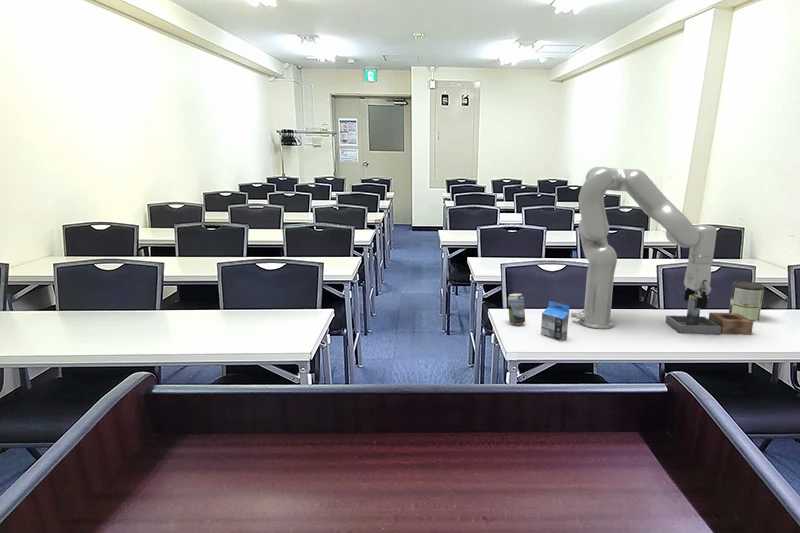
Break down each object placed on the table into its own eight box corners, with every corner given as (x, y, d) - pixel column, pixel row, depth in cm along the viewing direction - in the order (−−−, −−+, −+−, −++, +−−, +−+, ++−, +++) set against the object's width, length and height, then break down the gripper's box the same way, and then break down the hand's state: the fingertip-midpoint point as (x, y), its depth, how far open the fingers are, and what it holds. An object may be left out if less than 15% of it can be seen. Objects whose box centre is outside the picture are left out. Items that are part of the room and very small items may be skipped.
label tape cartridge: (540, 334, 174) (541, 302, 172) (546, 332, 177) (548, 300, 174) (561, 341, 167) (563, 307, 165) (567, 338, 170) (569, 305, 167)
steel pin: (688, 327, 177) (692, 297, 175) (683, 324, 181) (687, 294, 179) (699, 328, 177) (703, 297, 174) (694, 324, 181) (698, 294, 178)
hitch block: (721, 333, 173) (723, 320, 172) (707, 324, 183) (709, 312, 182) (751, 334, 172) (753, 321, 171) (735, 325, 181) (737, 313, 180)
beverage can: (519, 327, 181) (520, 297, 179) (503, 323, 187) (504, 293, 184) (528, 324, 185) (530, 294, 183) (512, 319, 191) (514, 290, 188)
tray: (678, 333, 174) (679, 325, 173) (665, 322, 186) (666, 315, 185) (720, 334, 172) (721, 326, 172) (703, 323, 184) (704, 316, 183)
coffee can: (722, 314, 195) (726, 281, 192) (747, 314, 195) (752, 281, 192) (738, 322, 185) (744, 287, 182) (765, 322, 185) (771, 287, 182)
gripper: (679, 254, 182) (674, 297, 186) (701, 263, 165) (695, 310, 169) (700, 254, 181) (694, 298, 185) (724, 264, 164) (717, 311, 168)
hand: (694, 304), depth 177 cm, fingers open, 9 cm apart
